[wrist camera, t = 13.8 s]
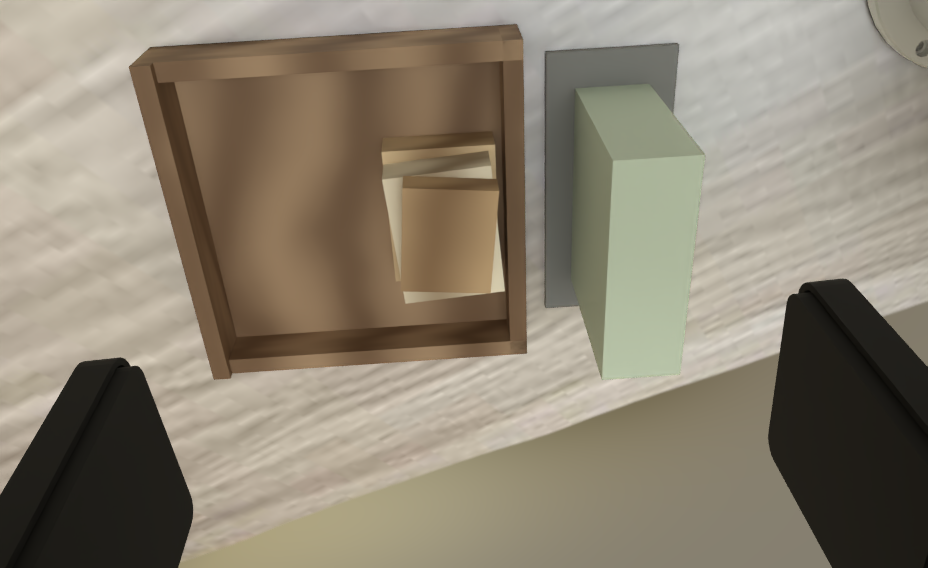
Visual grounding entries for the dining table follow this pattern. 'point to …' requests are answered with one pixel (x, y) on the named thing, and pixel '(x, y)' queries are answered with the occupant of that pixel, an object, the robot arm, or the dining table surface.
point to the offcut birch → (436, 167)
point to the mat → (560, 85)
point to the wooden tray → (328, 190)
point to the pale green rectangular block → (633, 228)
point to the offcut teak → (448, 234)
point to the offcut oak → (435, 154)
